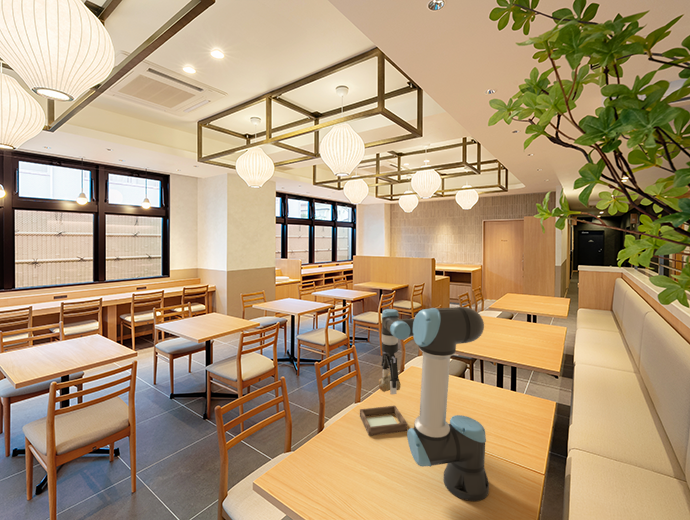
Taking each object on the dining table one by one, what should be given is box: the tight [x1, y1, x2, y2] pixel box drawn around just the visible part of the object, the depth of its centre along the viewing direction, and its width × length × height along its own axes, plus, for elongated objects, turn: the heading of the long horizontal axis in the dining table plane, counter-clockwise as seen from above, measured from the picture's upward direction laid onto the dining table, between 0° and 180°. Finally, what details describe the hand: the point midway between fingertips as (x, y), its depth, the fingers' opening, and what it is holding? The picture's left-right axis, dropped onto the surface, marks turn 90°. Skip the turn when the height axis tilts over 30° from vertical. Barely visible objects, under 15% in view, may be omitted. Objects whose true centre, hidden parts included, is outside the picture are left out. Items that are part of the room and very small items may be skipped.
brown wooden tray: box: [359, 405, 409, 437], centre depth 156 cm, size 16×18×4 cm
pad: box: [366, 414, 398, 427], centre depth 156 cm, size 11×13×1 cm
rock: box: [378, 371, 402, 393], centre depth 158 cm, size 12×10×10 cm
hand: (389, 388), depth 157 cm, fingers closed on rock, 11 cm apart
